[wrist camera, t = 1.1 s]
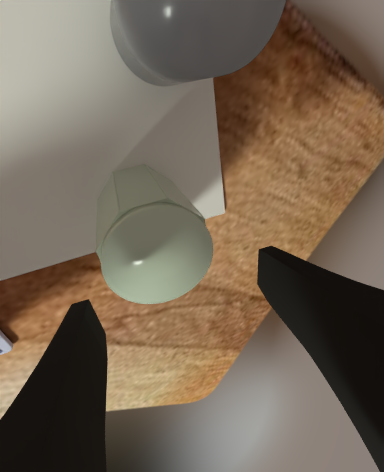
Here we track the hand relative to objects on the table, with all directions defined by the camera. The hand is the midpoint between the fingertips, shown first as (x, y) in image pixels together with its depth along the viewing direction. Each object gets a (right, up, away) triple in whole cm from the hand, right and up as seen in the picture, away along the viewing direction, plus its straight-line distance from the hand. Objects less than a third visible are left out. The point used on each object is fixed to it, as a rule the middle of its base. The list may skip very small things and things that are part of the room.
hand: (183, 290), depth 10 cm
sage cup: (-4, +5, +8) cm, 10 cm away
